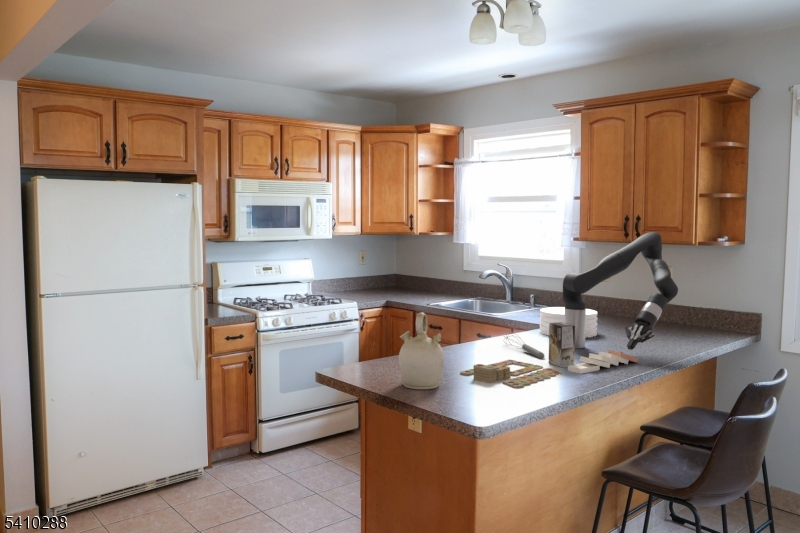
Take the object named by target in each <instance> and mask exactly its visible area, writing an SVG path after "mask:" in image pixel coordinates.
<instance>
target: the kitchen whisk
mask: <svg viewBox="0 0 800 533" xmlns="http://www.w3.org/2000/svg"><path fill="white" fill-rule="evenodd" d="M507 334H508V335H507ZM513 334H514V335H515V339H516V340H517V341H515V340H514V339H511V338H509V337H514V335H512V334H511V336H510V333H508V332H507V333H506V336H503V337H504V339H503V343H505V345H506V346H507V345H511V346H512V347H514V345H512V343H516V344H517V345H519V346H520V347H519V350H523V351H524V352H527V353H529V354H531V355H532V356H535V357H536V358H538V359H542V358H543V359H545V353H543V351H540V350H538V349H537V348H535V347H533V346H530V345H528V344H526V343H525V342H524V341H522V344H521V342H520V340H522V338H521V337H520V336H518V334H516V333H513ZM505 340H508V342H509V343H507V342H506V341H505ZM510 341H511V342H512V343H511V342H510ZM517 345H515V348H516V347H517V348H516V349H517V350H518V346H517ZM543 359H542V360H543Z"/></svg>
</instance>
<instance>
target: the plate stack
mask: <svg viewBox="0 0 800 533" xmlns="http://www.w3.org/2000/svg"><path fill="white" fill-rule="evenodd" d="M539 312H540V314H539V318H540V319H539V323H540V324H539V328H540V329H539V333H540V334H541V335H546V336H549V323H556V322H563V323H564V313H565V306H551V307H550V306H549V307H543V308H540V310H539ZM597 331H598V311H597V310H594V309H590V308H586V322H585V339H586V338H587V337H588V338H593V336H594V337H596V336H598V334H597V333H598V332H597Z"/></svg>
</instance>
